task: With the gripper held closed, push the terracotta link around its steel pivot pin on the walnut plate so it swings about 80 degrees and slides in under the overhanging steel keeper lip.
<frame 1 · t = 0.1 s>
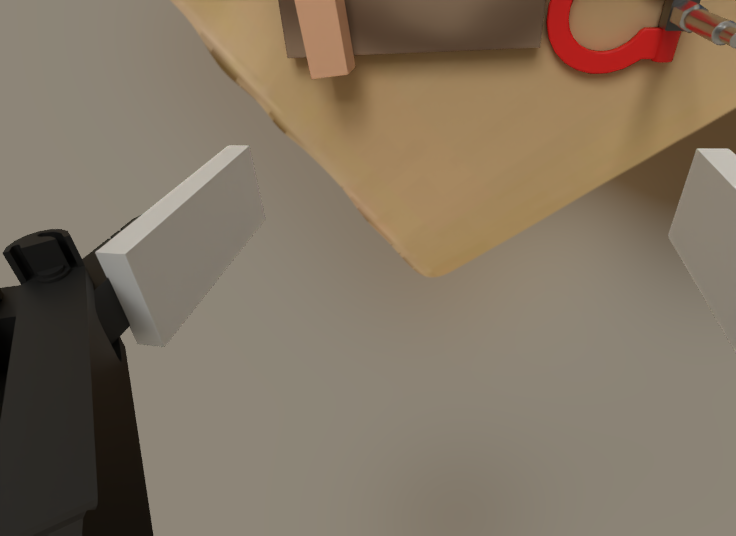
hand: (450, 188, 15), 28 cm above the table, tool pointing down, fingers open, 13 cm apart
tow hook: (613, 9, 35), on the table
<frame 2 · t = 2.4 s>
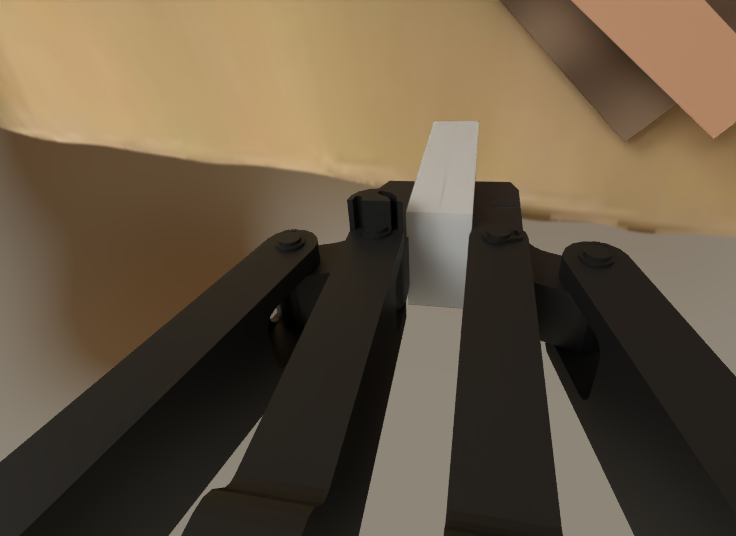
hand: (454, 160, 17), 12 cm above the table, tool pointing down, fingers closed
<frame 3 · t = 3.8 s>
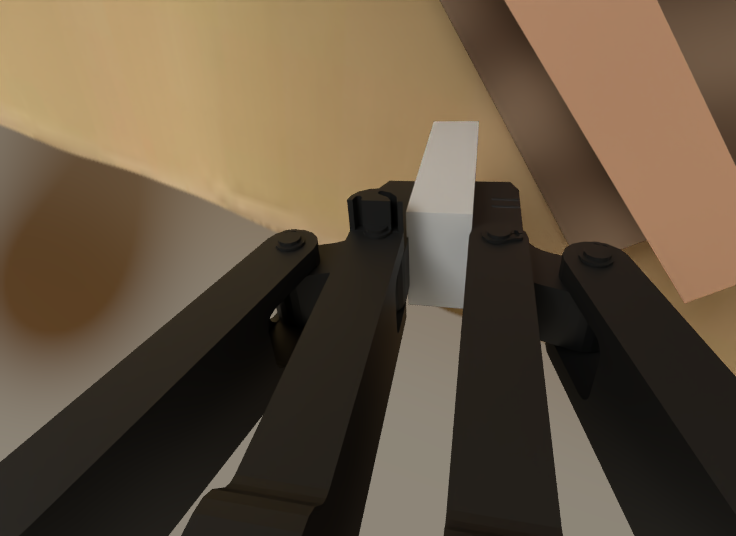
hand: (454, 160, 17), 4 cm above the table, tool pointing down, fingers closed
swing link: (604, 53, 14), point 4 cm above the table, hinge at 0.0°
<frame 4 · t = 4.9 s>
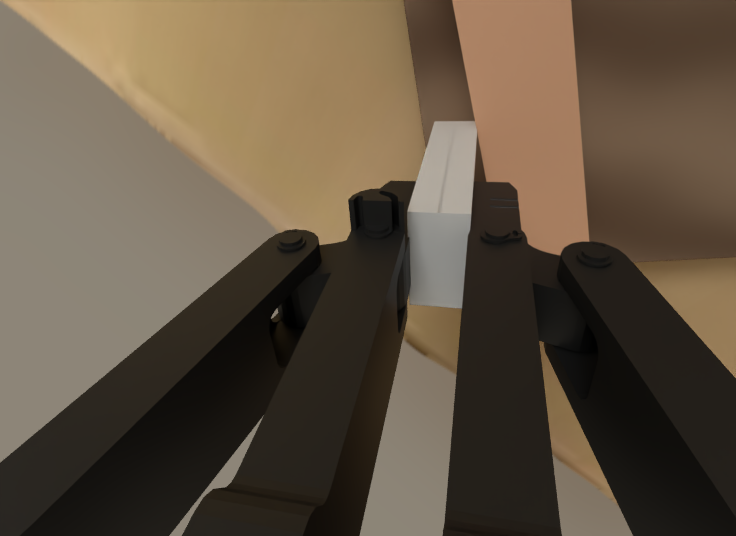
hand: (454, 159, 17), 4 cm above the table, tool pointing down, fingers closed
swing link: (522, 91, 15), point 4 cm above the table, hinge at 0.3°, touching gripper
pintle plate: (720, 4, 16), on the table
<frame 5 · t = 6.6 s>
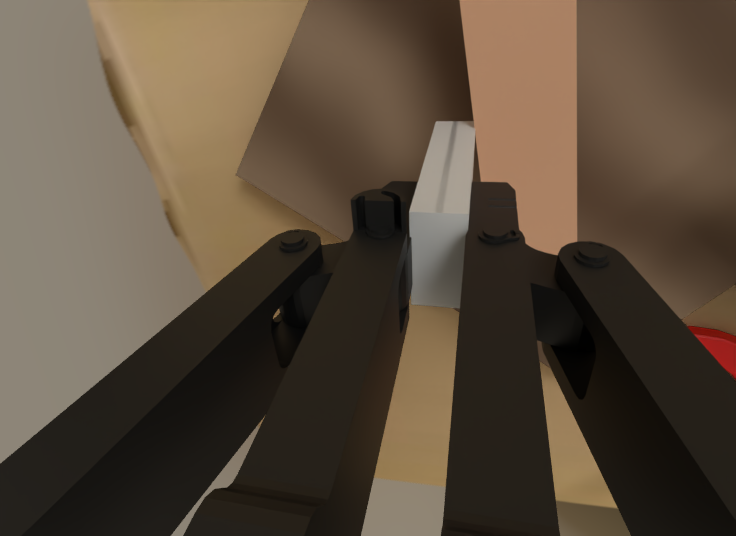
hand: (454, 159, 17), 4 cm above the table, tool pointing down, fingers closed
tow hook: (676, 386, 25), on the table
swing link: (521, 93, 15), point 4 cm above the table, hinge at 38.6°, touching gripper
pintle plate: (547, 123, 19), on the table
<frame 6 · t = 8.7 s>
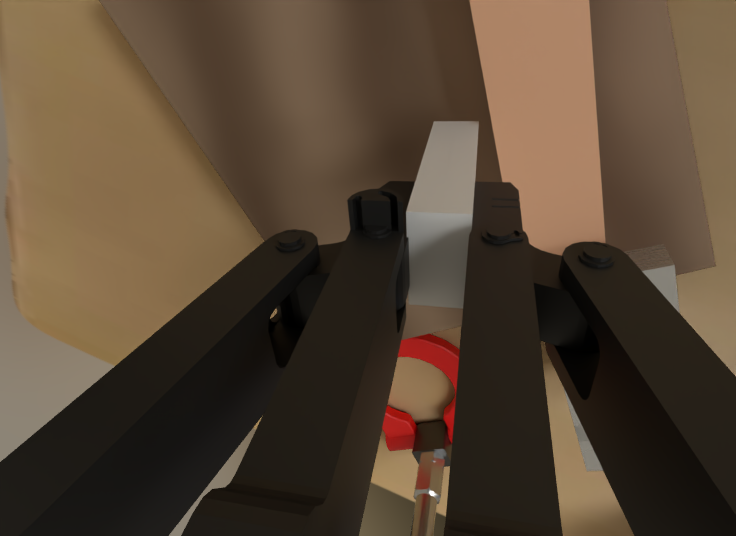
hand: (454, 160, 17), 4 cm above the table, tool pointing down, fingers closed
tow hook: (414, 382, 30), on the table
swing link: (537, 85, 15), point 4 cm above the table, hinge at 75.1°
pintle plate: (416, 119, 20), on the table
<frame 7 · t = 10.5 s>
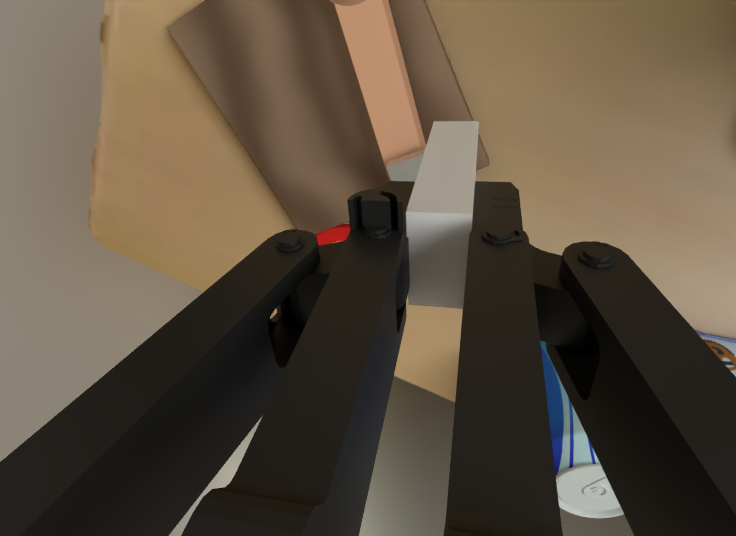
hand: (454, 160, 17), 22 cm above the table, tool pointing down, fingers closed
tow hook: (350, 262, 48), on the table
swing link: (380, 71, 33), point 4 cm above the table, hinge at 75.1°
pintle plate: (335, 93, 38), on the table
beer can: (561, 345, 49), on the table
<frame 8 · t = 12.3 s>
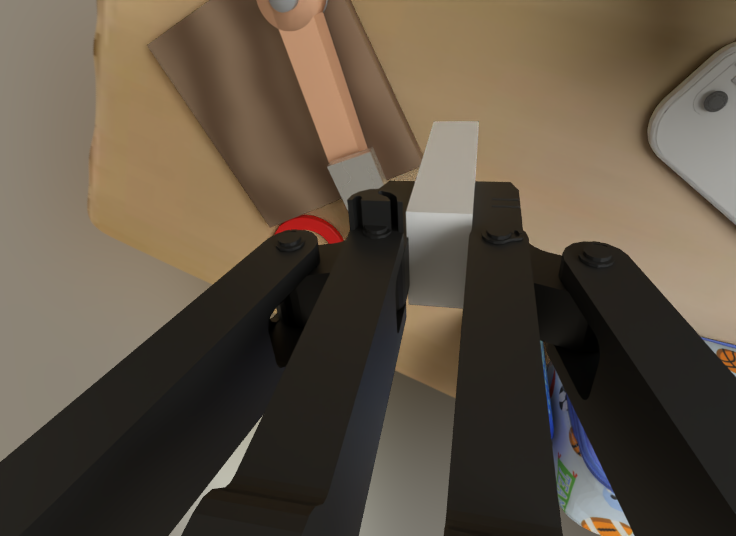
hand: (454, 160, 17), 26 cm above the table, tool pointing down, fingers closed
tow hook: (313, 249, 54), on the table
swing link: (321, 85, 39), point 4 cm above the table, hinge at 75.1°
pintle plate: (292, 101, 44), on the table
beer can: (501, 327, 54), on the table
lunch box: (670, 356, 52), on the table
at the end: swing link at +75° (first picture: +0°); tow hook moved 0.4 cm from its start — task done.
